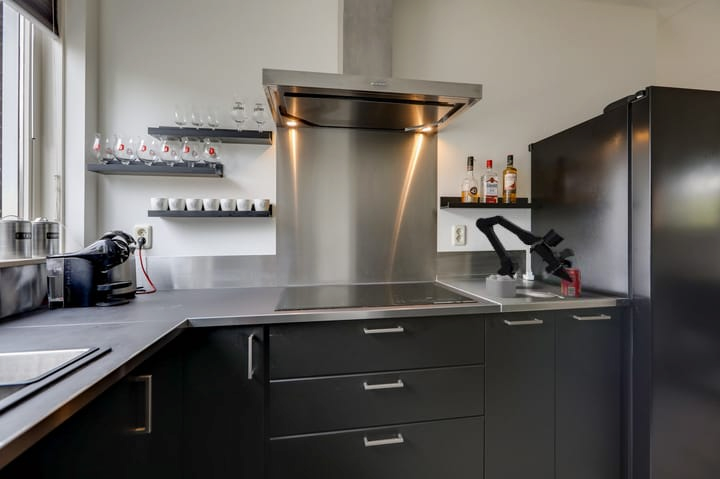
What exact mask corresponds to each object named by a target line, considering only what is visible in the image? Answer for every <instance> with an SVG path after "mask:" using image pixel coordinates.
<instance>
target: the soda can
mask: <svg viewBox="0 0 720 479" xmlns="http://www.w3.org/2000/svg"><path fill="white" fill-rule="evenodd" d="M565 271H566V272H567V273H568V275H569V276H570V277H571V278H572V280H573V282H568V281H566V280H564V279H562V278H560V279H561V294H562V295H563V297H568V296H569V297H568V298H578V297H580V296H581V294H582V293H581V292H582V273H581V271H580V268H578V267H575V268H574V267H572V268H565Z"/></svg>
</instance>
